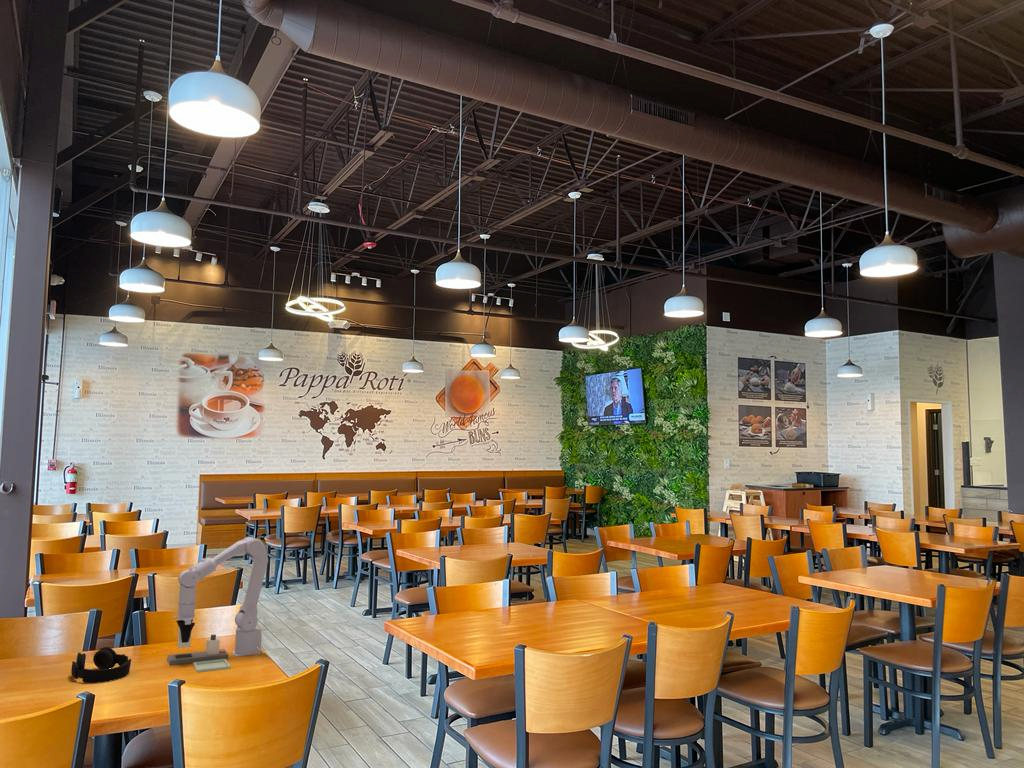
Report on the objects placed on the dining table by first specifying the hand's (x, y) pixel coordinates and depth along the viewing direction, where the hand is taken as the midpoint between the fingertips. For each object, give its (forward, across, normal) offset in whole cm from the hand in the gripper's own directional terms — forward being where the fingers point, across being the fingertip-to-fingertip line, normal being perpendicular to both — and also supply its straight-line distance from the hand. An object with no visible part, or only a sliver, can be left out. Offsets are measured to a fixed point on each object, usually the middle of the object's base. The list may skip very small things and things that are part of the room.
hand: (184, 641), depth 275 cm
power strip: (+8, 0, +5) cm, 9 cm away
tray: (+8, +13, +8) cm, 17 cm away
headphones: (+8, +5, -27) cm, 29 cm away
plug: (+2, 0, 0) cm, 2 cm away
